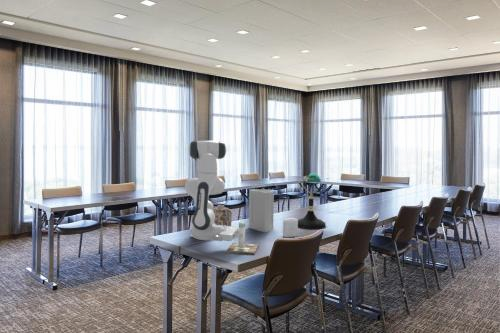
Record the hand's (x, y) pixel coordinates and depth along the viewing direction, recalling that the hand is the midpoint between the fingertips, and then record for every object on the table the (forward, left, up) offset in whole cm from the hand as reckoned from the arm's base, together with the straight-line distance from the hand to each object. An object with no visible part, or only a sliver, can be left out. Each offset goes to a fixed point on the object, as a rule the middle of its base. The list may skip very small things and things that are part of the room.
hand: (243, 234), depth 219 cm
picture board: (-5, -1, -10) cm, 11 cm away
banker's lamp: (-81, +37, -10) cm, 89 cm away
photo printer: (-44, +24, -10) cm, 51 cm away
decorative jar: (-49, -26, -10) cm, 56 cm away
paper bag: (-64, +4, -10) cm, 64 cm away
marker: (0, -1, -7) cm, 8 cm away
